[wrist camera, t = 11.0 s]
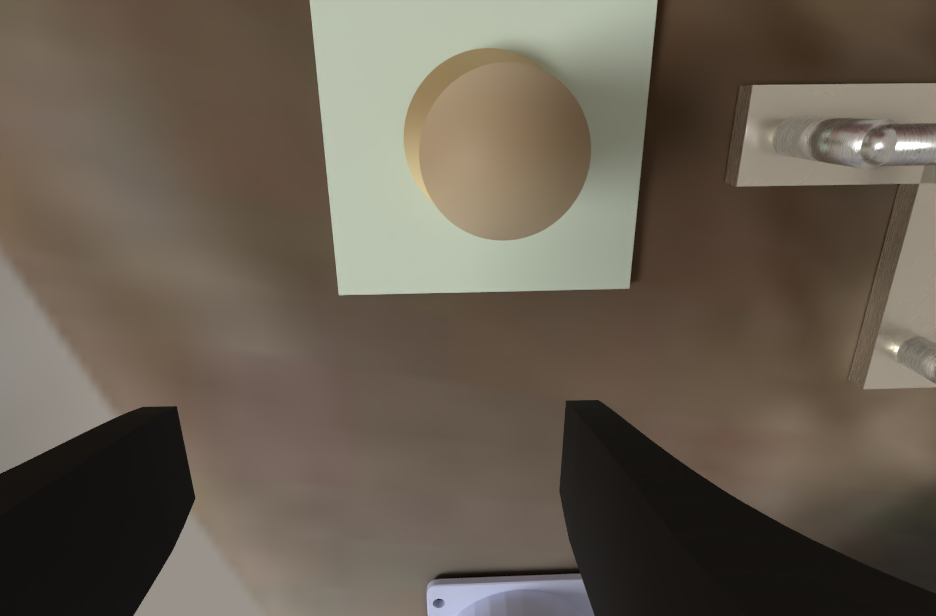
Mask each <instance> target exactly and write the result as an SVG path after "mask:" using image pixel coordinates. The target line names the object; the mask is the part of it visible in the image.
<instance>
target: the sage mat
mask: <svg viewBox="0 0 936 616" xmlns="http://www.w3.org/2000/svg"><path fill="white" fill-rule="evenodd" d="M657 1H658V0H310V7H311V17H312V28H313V38H314V48H315V58H316V68H317V78H318V88H319V98H320V109H321V119H322V129H323V139H324V149H325V159H326V169H327V179H328V190H329V200H330V210H331V220H332V230H333V240H334V250H335V260H336V271H337V281H338V291H339V295H366V294H411V293H456V292H502V291H547V290H592V289H629V287H630V277H631V267H632V256H633V246H634V236H635V226H636V215H637V205H638V195H639V185H640V175H641V164H642V154H643V144H644V134H645V123H646V113H647V103H648V93H649V83H650V72H651V62H652V52H653V42H654V31H655V21H656V11H657ZM481 48H496V49H503V50H508V51H512V52H515V53H517V54H520V55H522V56H524V57H526V58H528V59H530V60H532V61H533V62H534V63H536V64H537V65H538V66H540V67H541V68H542V69H543V70H544V71H545V72H547V73H549V74H551V75H552V76H554V77H555V78H556V79H558V80H559V81H560V82H562V83H563V84H564V85H565V86H566V87H567V88H568V89H569V90H570V92H571V93H572V94H573V96H574V97H575V98H576V100H577V101H578V103H579V105H580V107H581V108H582V110H583V113H584V115H585V118H586V120H587V124H588V128H589V132H590V140H591V158H590V166H589V170H588V174H587V178H586V181H585V183H584V186H583V188H582V190H581V192H580V194H579V196H578V197H577V199H576V201H575V202H574V203H573V205H572V206H571V208H570V209H569V210H568V211H567V212H566V213H565V214H564V215H563V216H562V217H561V218H560V219H559V220H558V221H556V222H555V223H554V224H552V225H551V226H549V227H548V228H546V229H545V230H543V231H541V232H539V233H537V234H534V235H531V236H528V237H526V238H521V239H516V240H507V241H500V240H490V239H484V238H481V237H477V236H474V235H472V234H470V233H467V232H465V231H463V230H462V229H460V228H458V227H457V226H455V225H454V224H453V223H451V222H450V221H449V220H448V219H447V218H446V217H445V216H444V215H443V214H442V213H441V212H440V211H439V210H438V208H437V207H436V206H435V205H434V204H433V203H432V202H431V201H430V200H429V199H428V198H427V197H426V196H425V195H424V194H423V192H422V191H421V189H420V188H419V187H418V185H417V184H416V182H415V180H414V178H413V176H412V174H411V172H410V169H409V166H408V164H407V159H406V155H405V149H404V125H405V118H406V115H407V111H408V107H409V105H410V103H411V100H412V98H413V96H414V94H415V92H416V90H417V89H418V87H419V85H420V84H421V83H422V82H423V80H424V79H425V78H426V76H427V75H428V74H429V73H430V72H431V71H432V70H434V69H435V68H436V67H437V66H438V65H440V64H441V63H442V62H444V61H446V60H447V59H449V58H451V57H453V56H455V55H457V54H460V53H462V52H465V51H469V50H474V49H481Z"/></svg>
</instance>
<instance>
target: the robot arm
mask: <svg viewBox="0 0 936 616" xmlns="http://www.w3.org/2000/svg"><path fill="white" fill-rule="evenodd" d="M560 496H561V501H562V507H563V512H564V517H565V522H566V527H567V531H568V536H569V541H570V544H571V547H572V550H573V553H574V556H575V559H576V562H577V565H578V568H579V571H580V574H555V575H529V576H503V577H476V578H450V579H436V580H433V581H431V582H430V583H429V584H428V586H427V608H428V616H936V594H935V593H933V592H930V591H927V590H925V589H922V588H920V587H917V586H915V585H912V584H910V583H907V582H905V581H902V580H900V579H898V578H895V577H893V576H891V575H888V574H886V573H884V572H881V571H879V570H877V569H874V568H872V567H870V566H867V565H865V564H863V563H861V562H858V561H856V560H854V559H852V558H850V557H848V556H846V555H843V554H841V553H839V552H837V551H835V550H833V549H831V548H829V547H827V546H824V545H822V544H820V543H818V542H816V541H814V540H812V539H810V538H808V537H806V536H804V535H802V534H800V533H798V532H796V531H794V530H792V529H790V528H788V527H786V526H784V525H783V524H781V523H779V522H777V521H775V520H774V519H772V518H770V517H768V516H766V515H765V514H763V513H761V512H759V511H758V510H756V509H754V508H752V507H750V506H749V505H747V504H745V503H743V502H742V501H740V500H738V499H737V498H735V497H733V496H732V495H730V494H728V493H727V492H725V491H724V490H722V489H720V488H719V487H717V486H716V485H714V484H713V483H711V482H710V481H708V480H707V479H705V478H704V477H702V476H701V475H699V474H698V473H696V472H695V471H693V470H692V469H690V468H689V467H687V466H686V465H685V464H683V463H682V462H680V461H679V460H677V459H676V458H675V457H673V456H672V455H670V454H669V453H668V452H666V451H665V450H664V449H662V448H661V447H660V446H658V445H657V444H656V443H654V442H653V441H652V440H650V439H649V438H648V437H646V436H645V435H644V434H642V433H641V432H640V431H639V430H637V429H636V428H635V427H633V426H632V425H631V424H630V423H628V422H627V421H626V420H624V419H623V418H622V417H621V416H619V415H618V414H617V413H615V412H614V411H613V410H612V409H610V408H609V407H608V406H606V405H605V404H603V403H602V402H600V401H599V400H578V401H566V409H565V423H564V436H563V450H562V464H561V477H560ZM194 500H195V494H194V489H193V485H192V480H191V475H190V470H189V465H188V460H187V455H186V450H185V445H184V440H183V435H182V431H181V426H180V421H179V416H178V411H177V406H174V407H141V408H139V409H136V410H133V411H131V412H128V413H126V414H123V415H121V416H119V417H117V418H114V419H112V420H110V421H108V422H106V423H104V424H101V425H99V426H98V427H95V428H93V429H91V430H89V431H87V432H85V433H83V434H81V435H79V436H77V437H75V438H73V439H71V440H69V441H67V442H65V443H63V444H61V445H59V446H57V447H55V448H53V449H50V450H48V451H46V452H45V453H42V454H41V455H38V456H36V457H34V458H33V459H30V460H28V461H26V462H24V463H22V464H20V465H18V466H16V467H14V468H12V469H9V470H7V471H6V472H3V473H1V474H0V616H133V615H134V614H135V612H136V610H137V609H138V607H139V605H140V604H141V602H142V601H143V599H144V597H145V596H146V594H147V593H148V591H149V589H150V588H151V586H152V584H153V583H154V581H155V579H156V577H157V576H158V574H159V573H160V571H161V569H162V568H163V566H164V564H165V562H166V561H167V559H168V557H169V556H170V554H171V552H172V550H173V549H174V546H175V544H176V542H177V540H178V538H179V535H180V533H181V531H182V529H183V527H184V524H185V522H186V520H187V517H188V515H189V512H190V510H191V508H192V505H193V503H194ZM436 599H442V600H436Z"/></svg>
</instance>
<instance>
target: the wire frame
mask: <svg viewBox="0 0 936 616" xmlns="http://www.w3.org/2000/svg"><path fill="white" fill-rule="evenodd" d="M725 183H726V184H729V185H733V186H736V187H738V186H799V185H861V184H899V187H898V191H897V195H896V199H895V203H894V206H893V210H892V214H891V218H890V222H889V226H888V229H887V233H886V237H885V241H884V245H883V248H882V252H881V256H880V260H879V264H878V268H877V271H876V275H875V279H874V283H873V287H872V291H871V294H870V298H869V302H868V306H867V310H866V313H865V317H864V321H863V325H862V329H861V333H860V336H859V340H858V344H857V348H856V352H855V355H854V359H853V363H852V367H851V371H850V375H849V378H848V379H849V380H850V381H852V382H853V383H855V384H856V385H858V386H859V387H861V388H862V389H890V388H925V387H936V83H899V84H803V85H745V86H739V91H738V98H737V104H736V111H735V118H734V124H733V131H732V138H731V144H730V151H729V157H728V164H727V171H726V177H725Z"/></svg>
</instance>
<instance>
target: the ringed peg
mask: <svg viewBox="0 0 936 616" xmlns="http://www.w3.org/2000/svg"><path fill="white" fill-rule="evenodd" d="M404 149H405V155H406V159H407V164H408V166H409V169H410V172H411V174H412V176H413V178H414V180H415V182H416V184H417V185H418V187H419V188H420V189H421V191H422V192H423V194H424V195H425V196H426V197H427V198H428V199H429V200H430V201H431V202H432V203H433V204H434V205H435V206H436V207H437V208H438V210H439V211H440V212H441V213H442V214H443V215H444V216H445V217H446V218H447V219H448V220H449V221H450V222H451V223H453V224H454V225H455V226H457V227H458V228H460V229H462V230H463V231H465V232H467V233H470V234H472V235H474V236H477V237H481V238H484V239H490V240H500V241H507V240H516V239H521V238H526V237H528V236H531V235H534V234H537V233H539V232H541V231H543V230H545V229H546V228H548V227H549V226H551V225H552V224H554V223H555V222H556V221H558V220H559V219H560V218H561V217H562V216H563V215H564V214H565V213H566V212H567V211H568V210H569V209H570V208H571V206H572V205H573V203H574V202H575V201H576V199H577V197H578V196H579V194H580V192H581V190H582V188H583V186H584V183H585V181H586V178H587V174H588V170H589V166H590V158H591V140H590V132H589V128H588V124H587V120H586V118H585V115H584V113H583V110H582V108H581V107H580V105H579V103H578V101H577V100H576V98H575V97H574V96H573V94H572V93H571V92H570V90H569V89H568V88H567V87H566V86H565V85H564V84H563V83H562V82H560V81H559V80H558V79H556V78H555V77H554V76H552V75H551V74H549V73H547V72H545V71H544V70H543V69H542V68H541V67H540V66H538V65H537V64H536V63H534V62H533V61H532V60H530V59H528V58H526V57H524V56H522V55H520V54H517V53H515V52H512V51H508V50H503V49H496V48H481V49H474V50H469V51H465V52H462V53H460V54H457V55H455V56H453V57H451V58H449V59H447V60H446V61H444V62H442V63H441V64H440V65H438V66H437V67H436V68H435V69H434V70H432V71H431V72H430V73H429V74H428V75H427V76H426V78H425V79H424V80H423V82H422V83H421V84H420V85H419V87H418V89H417V90H416V92H415V94H414V96H413V98H412V100H411V103H410V105H409V107H408V111H407V115H406V118H405V125H404Z"/></svg>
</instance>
